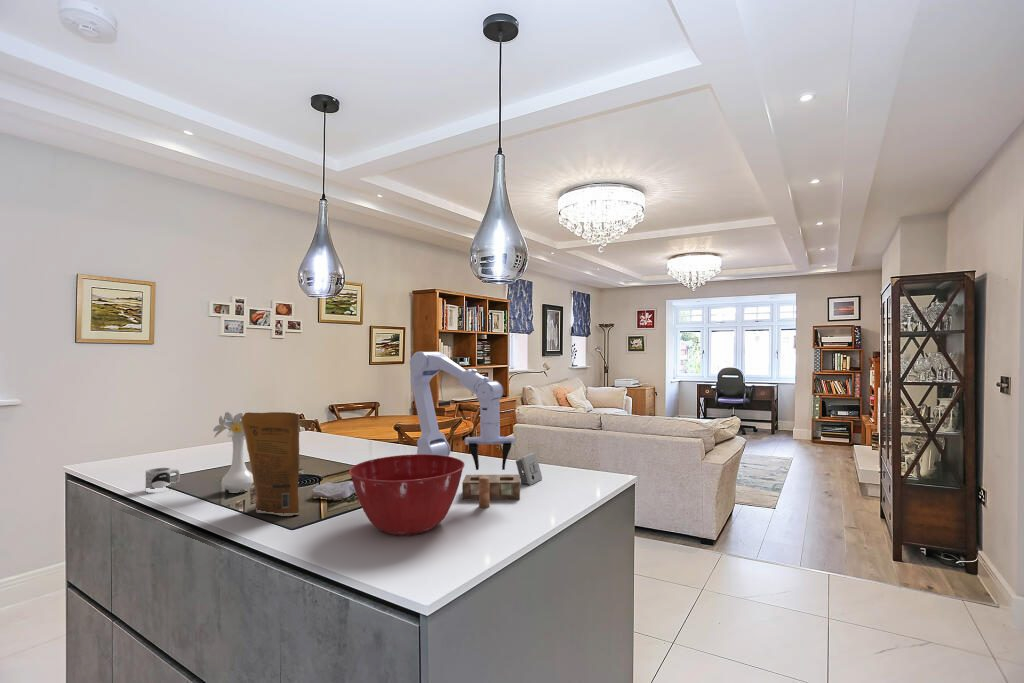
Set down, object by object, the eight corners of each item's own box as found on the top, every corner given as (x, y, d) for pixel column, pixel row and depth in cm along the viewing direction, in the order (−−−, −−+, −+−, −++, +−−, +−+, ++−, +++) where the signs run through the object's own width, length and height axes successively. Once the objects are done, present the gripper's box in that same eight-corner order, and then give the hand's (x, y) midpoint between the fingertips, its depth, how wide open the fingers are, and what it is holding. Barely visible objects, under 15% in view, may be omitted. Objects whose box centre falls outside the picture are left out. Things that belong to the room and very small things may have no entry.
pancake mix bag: (290, 521, 139) (290, 414, 140) (238, 512, 147) (238, 411, 147) (309, 513, 146) (309, 411, 146) (259, 506, 153) (258, 408, 154)
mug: (152, 494, 167) (152, 473, 167) (141, 491, 171) (141, 471, 171) (185, 487, 176) (185, 467, 176) (174, 484, 179) (174, 465, 179)
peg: (478, 508, 149) (478, 479, 149) (479, 505, 152) (479, 476, 152) (489, 508, 149) (488, 479, 149) (489, 504, 152) (489, 476, 152)
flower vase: (246, 499, 160) (246, 416, 161) (201, 494, 167) (201, 414, 167) (278, 488, 173) (278, 411, 173) (235, 484, 179) (235, 409, 179)
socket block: (462, 499, 158) (462, 482, 158) (466, 490, 168) (466, 474, 168) (519, 499, 157) (519, 482, 157) (520, 490, 168) (519, 474, 168)
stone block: (346, 507, 158) (359, 492, 167) (344, 492, 157) (357, 477, 167) (308, 508, 159) (323, 492, 169) (306, 493, 158) (321, 478, 168)
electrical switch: (530, 486, 173) (527, 457, 174) (516, 485, 176) (514, 457, 176) (542, 479, 182) (540, 452, 182) (529, 479, 184) (526, 452, 185)
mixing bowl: (416, 556, 115) (415, 484, 115) (323, 534, 129) (323, 470, 129) (485, 519, 140) (485, 460, 140) (401, 504, 153) (401, 450, 154)
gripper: (463, 424, 152) (464, 472, 152) (514, 424, 152) (514, 472, 152) (466, 421, 159) (466, 466, 159) (514, 421, 159) (515, 466, 159)
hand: (490, 469), depth 156 cm, fingers open, 7 cm apart
